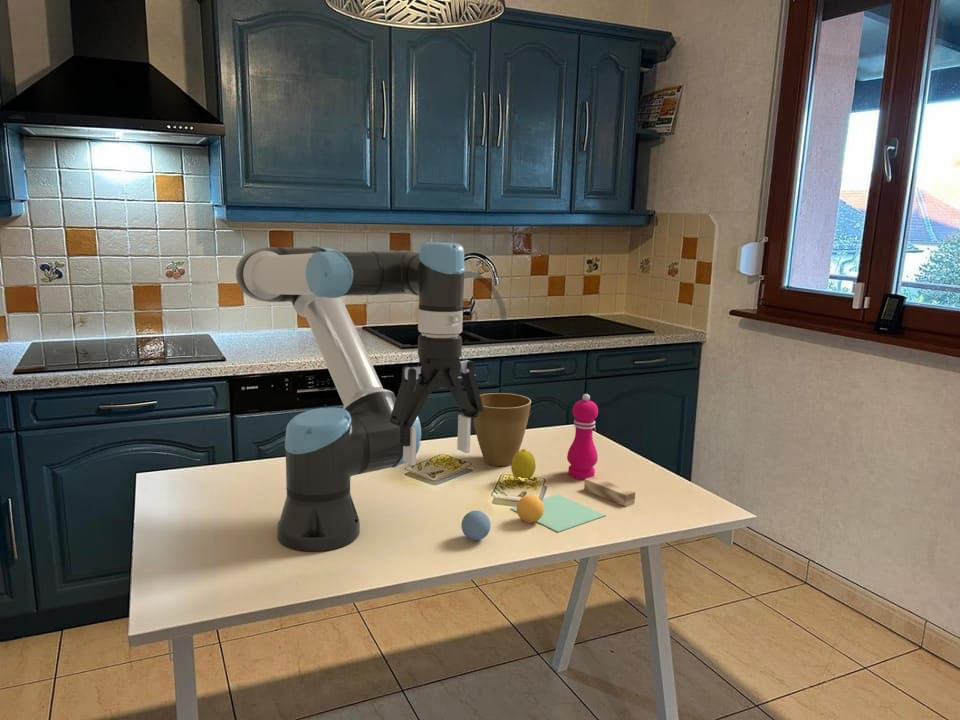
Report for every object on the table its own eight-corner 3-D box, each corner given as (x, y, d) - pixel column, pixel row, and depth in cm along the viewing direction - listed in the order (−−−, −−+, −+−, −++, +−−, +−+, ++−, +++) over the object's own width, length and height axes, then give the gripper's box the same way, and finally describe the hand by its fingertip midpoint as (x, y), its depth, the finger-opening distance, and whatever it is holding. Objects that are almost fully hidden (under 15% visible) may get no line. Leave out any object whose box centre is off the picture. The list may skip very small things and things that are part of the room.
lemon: (532, 487, 165) (534, 453, 163) (508, 484, 166) (510, 451, 164) (535, 479, 170) (537, 446, 169) (512, 476, 171) (514, 444, 170)
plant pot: (507, 449, 192) (510, 390, 188) (539, 466, 179) (543, 403, 176) (458, 456, 184) (459, 395, 181) (488, 475, 172) (490, 410, 168)
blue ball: (454, 538, 137) (455, 511, 136) (474, 530, 141) (475, 503, 140) (476, 548, 134) (477, 520, 132) (495, 538, 138) (497, 511, 137)
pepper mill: (570, 468, 179) (575, 389, 175) (599, 472, 176) (604, 392, 172) (562, 477, 172) (567, 395, 168) (592, 482, 169) (598, 399, 166)
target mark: (557, 532, 141) (558, 531, 141) (510, 509, 152) (510, 508, 152) (605, 516, 150) (605, 515, 150) (557, 494, 161) (557, 494, 161)
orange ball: (510, 521, 146) (511, 495, 145) (526, 513, 150) (528, 488, 149) (532, 529, 142) (533, 503, 141) (548, 521, 146) (550, 495, 145)
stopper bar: (634, 503, 157) (635, 492, 157) (625, 506, 156) (626, 495, 155) (593, 486, 167) (593, 476, 166) (584, 489, 165) (584, 478, 164)
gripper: (393, 343, 114) (392, 476, 118) (506, 332, 128) (501, 450, 133) (368, 336, 119) (368, 463, 123) (479, 326, 134) (475, 440, 138)
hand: (437, 456), depth 128 cm, fingers open, 11 cm apart
